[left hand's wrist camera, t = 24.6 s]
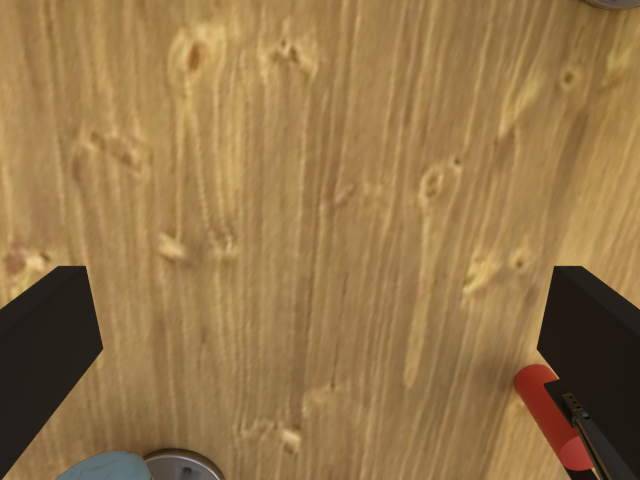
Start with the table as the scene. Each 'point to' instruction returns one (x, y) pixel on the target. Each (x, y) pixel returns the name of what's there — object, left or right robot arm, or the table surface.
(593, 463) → the right robot arm
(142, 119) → the table surface
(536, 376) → the can
